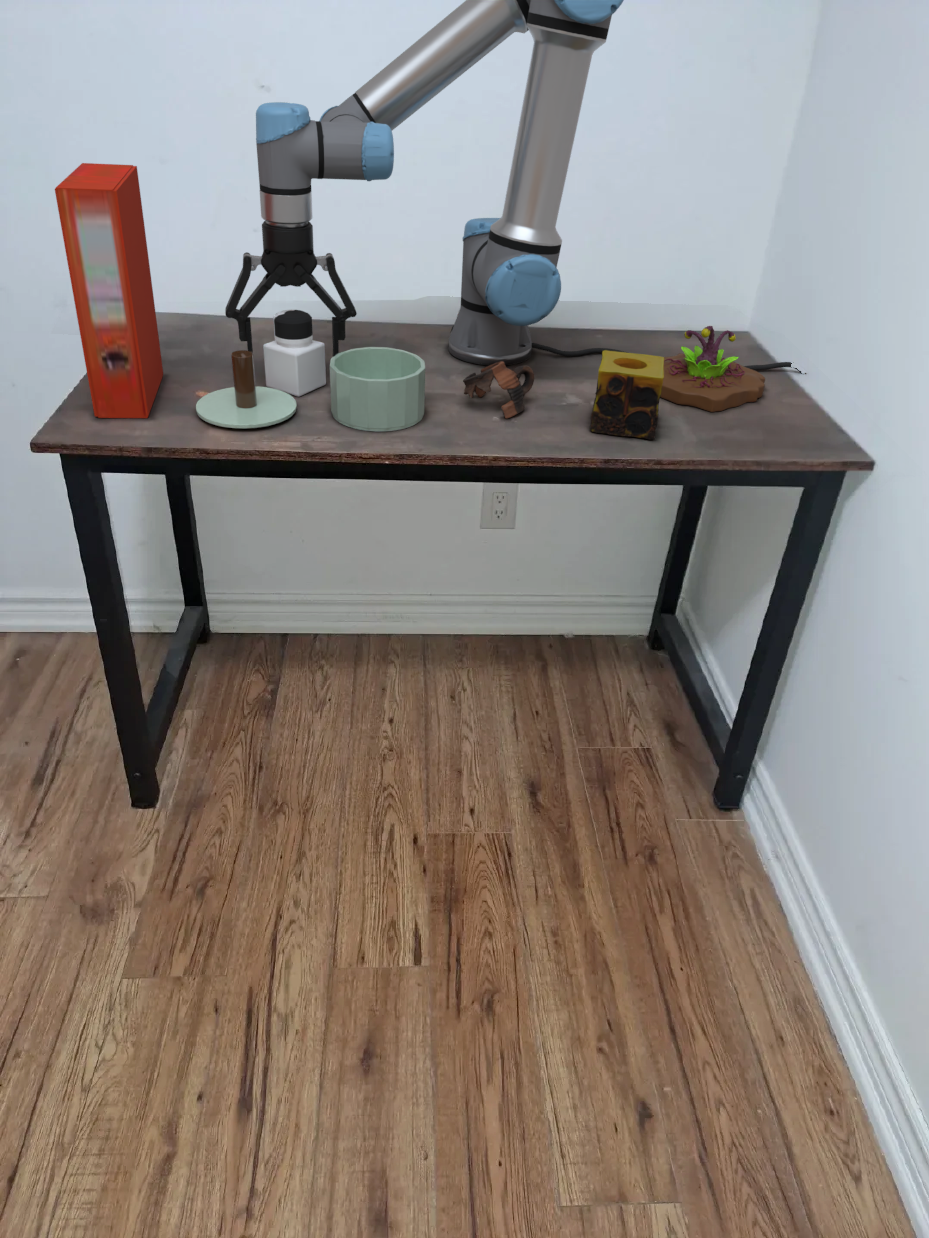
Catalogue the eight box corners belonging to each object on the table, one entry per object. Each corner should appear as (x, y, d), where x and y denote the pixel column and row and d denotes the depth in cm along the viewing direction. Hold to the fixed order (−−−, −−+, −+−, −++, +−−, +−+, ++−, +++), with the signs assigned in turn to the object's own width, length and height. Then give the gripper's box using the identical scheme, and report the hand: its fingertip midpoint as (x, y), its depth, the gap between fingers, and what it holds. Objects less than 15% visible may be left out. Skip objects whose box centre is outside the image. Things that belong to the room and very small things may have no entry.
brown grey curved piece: (495, 427, 146) (473, 378, 144) (468, 431, 155) (447, 384, 152) (554, 395, 150) (534, 346, 148) (525, 400, 158) (506, 354, 156)
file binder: (165, 376, 155) (136, 164, 137) (150, 418, 142) (116, 189, 123) (115, 375, 154) (78, 163, 136) (95, 418, 140) (51, 187, 122)
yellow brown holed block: (654, 442, 144) (665, 379, 138) (588, 433, 145) (597, 371, 139) (656, 416, 152) (667, 356, 146) (594, 408, 153) (602, 348, 147)
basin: (401, 390, 156) (402, 343, 151) (438, 423, 145) (440, 374, 141) (319, 401, 150) (316, 352, 145) (351, 437, 140) (350, 386, 135)
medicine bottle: (327, 385, 156) (324, 312, 149) (298, 397, 151) (294, 323, 144) (294, 374, 159) (290, 303, 152) (265, 387, 154) (259, 313, 147)
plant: (620, 384, 162) (630, 320, 156) (680, 359, 175) (692, 298, 168) (721, 420, 152) (736, 352, 145) (778, 390, 164) (794, 327, 157)
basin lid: (279, 388, 154) (276, 332, 148) (310, 424, 143) (307, 365, 137) (186, 400, 148) (178, 342, 142) (210, 438, 137) (203, 377, 132)
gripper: (367, 216, 145) (367, 350, 158) (201, 214, 140) (214, 352, 153) (373, 228, 139) (373, 367, 152) (200, 226, 135) (214, 369, 147)
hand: (293, 360), depth 152 cm, fingers open, 13 cm apart
